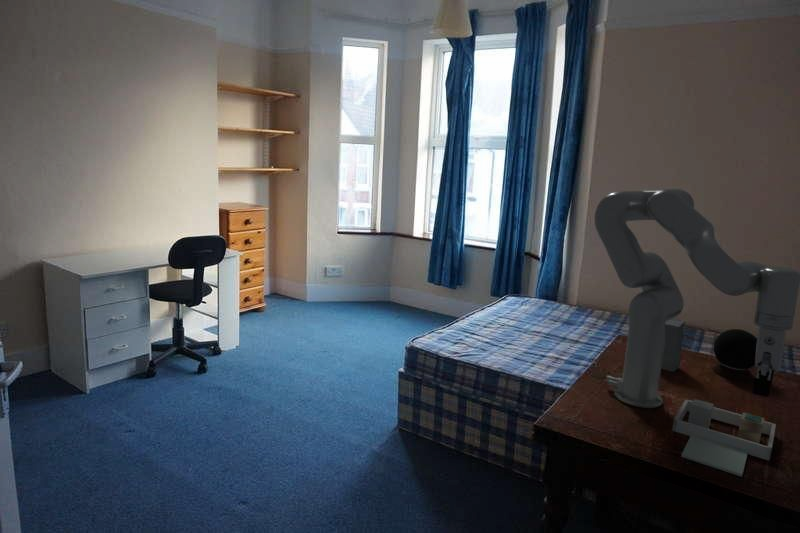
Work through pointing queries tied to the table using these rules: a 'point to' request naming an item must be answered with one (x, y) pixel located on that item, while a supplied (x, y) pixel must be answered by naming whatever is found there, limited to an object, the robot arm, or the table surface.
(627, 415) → the table surface
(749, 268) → the robot arm
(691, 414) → the plain block
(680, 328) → the skincare box
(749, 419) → the labelled block
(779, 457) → the table surface
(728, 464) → the mat
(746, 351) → the dark rounded object
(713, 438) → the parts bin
